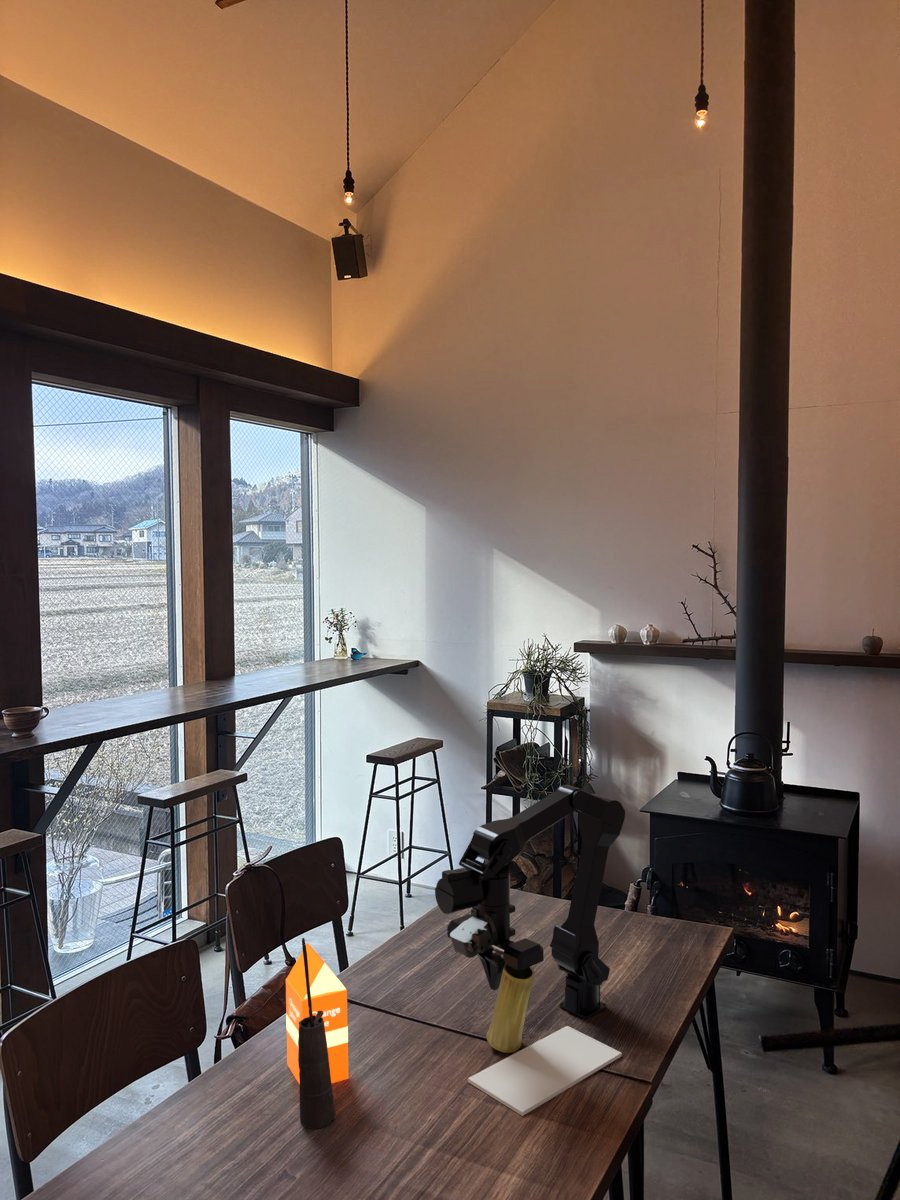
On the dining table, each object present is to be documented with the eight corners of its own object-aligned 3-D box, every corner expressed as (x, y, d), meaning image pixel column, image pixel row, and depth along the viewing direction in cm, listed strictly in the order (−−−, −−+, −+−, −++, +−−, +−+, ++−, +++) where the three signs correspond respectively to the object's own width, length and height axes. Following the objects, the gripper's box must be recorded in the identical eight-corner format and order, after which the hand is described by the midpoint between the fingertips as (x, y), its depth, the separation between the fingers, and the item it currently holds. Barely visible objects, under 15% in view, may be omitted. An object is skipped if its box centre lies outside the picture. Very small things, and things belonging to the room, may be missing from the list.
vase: (525, 1035, 155) (540, 965, 151) (515, 1058, 149) (531, 986, 146) (492, 1022, 157) (507, 953, 153) (481, 1044, 151) (496, 973, 147)
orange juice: (303, 1092, 140) (300, 967, 139) (286, 1064, 148) (284, 946, 147) (349, 1078, 143) (347, 956, 143) (331, 1052, 151) (329, 936, 151)
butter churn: (321, 1088, 141) (318, 914, 140) (364, 1111, 135) (361, 929, 134) (276, 1116, 134) (272, 933, 133) (319, 1142, 128) (315, 950, 127)
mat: (567, 1029, 158) (567, 1025, 158) (621, 1056, 149) (621, 1052, 149) (467, 1082, 142) (467, 1078, 142) (522, 1116, 133) (522, 1112, 133)
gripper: (423, 897, 155) (424, 985, 156) (497, 929, 141) (498, 1025, 142) (470, 882, 163) (471, 966, 163) (545, 911, 149) (546, 1003, 149)
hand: (494, 989), depth 154 cm, fingers closed
